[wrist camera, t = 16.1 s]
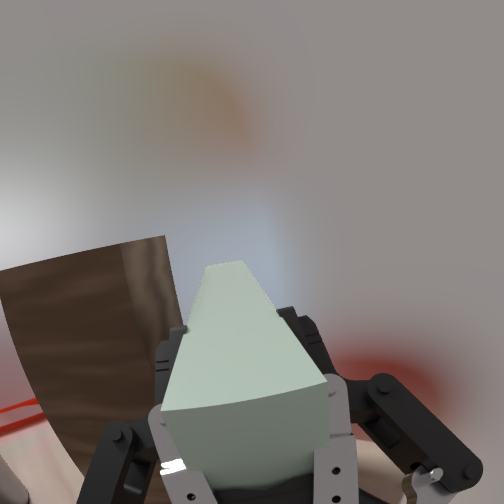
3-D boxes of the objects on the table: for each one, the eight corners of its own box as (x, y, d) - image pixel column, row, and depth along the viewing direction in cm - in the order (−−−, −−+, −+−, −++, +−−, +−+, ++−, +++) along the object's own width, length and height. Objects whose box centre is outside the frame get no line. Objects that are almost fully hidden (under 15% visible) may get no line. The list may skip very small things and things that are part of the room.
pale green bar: (330, 477, 7) (327, 381, 6) (203, 500, 6) (160, 411, 6) (248, 294, 32) (242, 259, 32) (213, 300, 32) (206, 266, 31)
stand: (331, 519, 19) (312, 209, 16) (139, 537, 17) (-6, 272, 14) (301, 448, 33) (269, 217, 30) (152, 467, 31) (75, 253, 28)
